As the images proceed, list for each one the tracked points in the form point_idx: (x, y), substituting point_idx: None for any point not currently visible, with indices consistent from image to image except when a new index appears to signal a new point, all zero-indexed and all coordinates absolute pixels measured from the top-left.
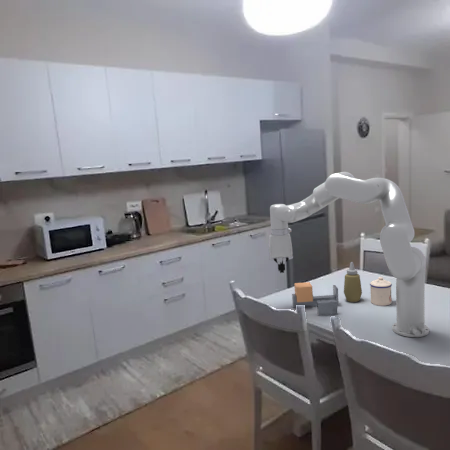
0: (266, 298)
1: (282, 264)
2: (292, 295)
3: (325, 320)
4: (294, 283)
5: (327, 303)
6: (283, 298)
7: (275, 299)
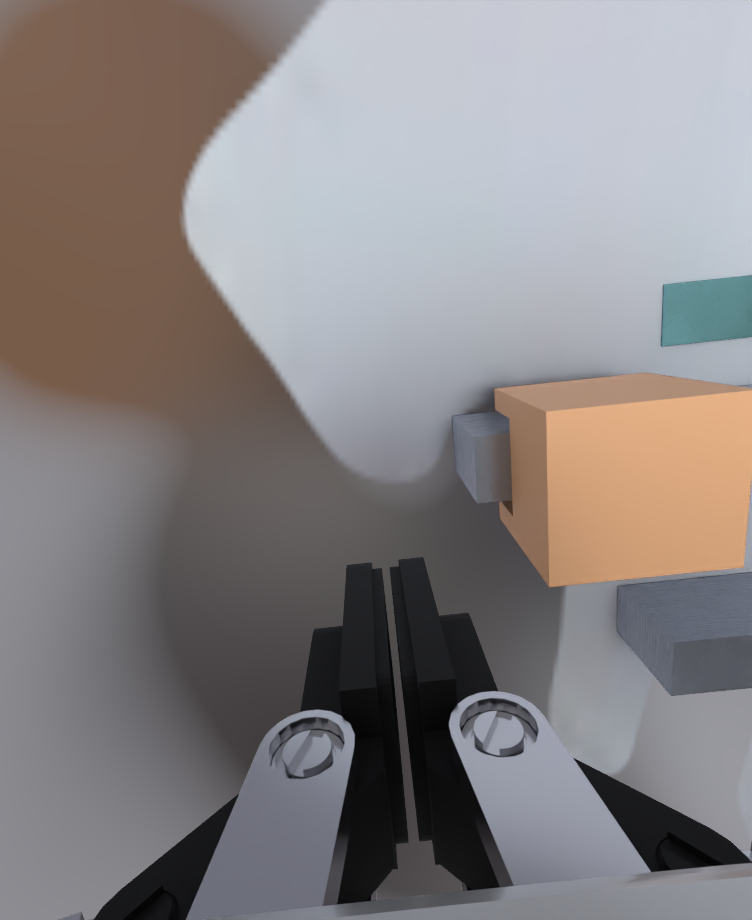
0: (203, 185)
1: (437, 862)
2: (474, 473)
3: (641, 706)
4: (547, 422)
5: (745, 681)
6: (377, 206)
7: (297, 229)
